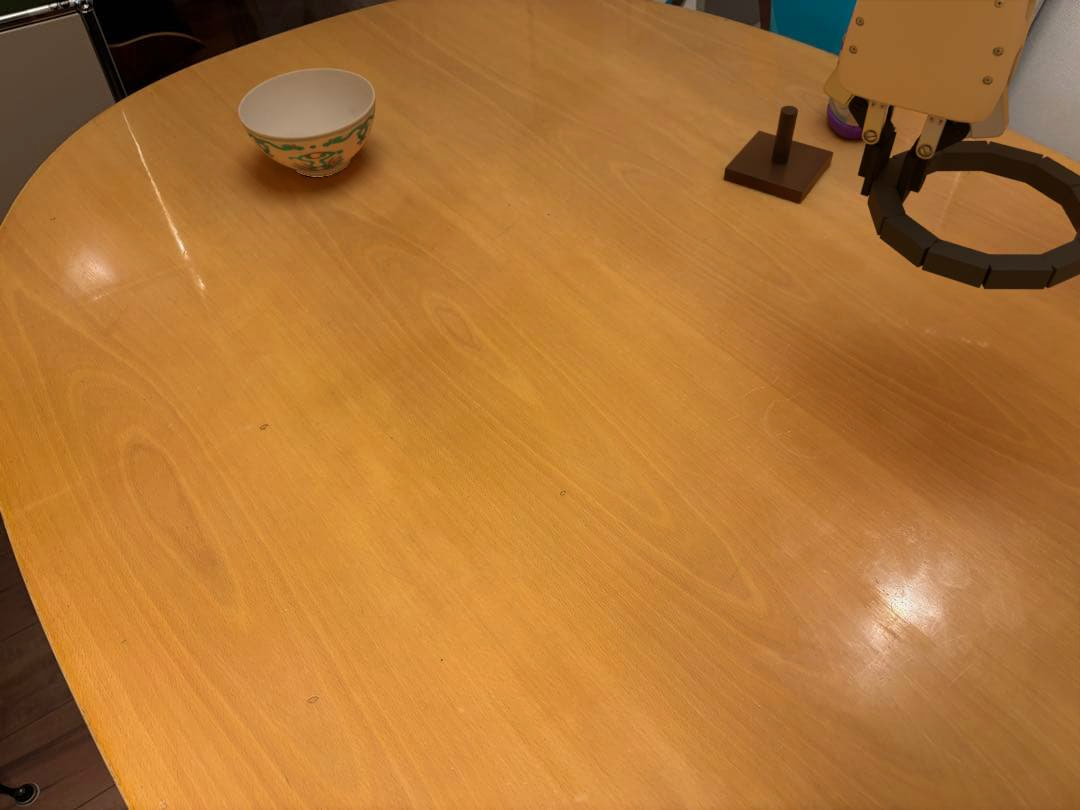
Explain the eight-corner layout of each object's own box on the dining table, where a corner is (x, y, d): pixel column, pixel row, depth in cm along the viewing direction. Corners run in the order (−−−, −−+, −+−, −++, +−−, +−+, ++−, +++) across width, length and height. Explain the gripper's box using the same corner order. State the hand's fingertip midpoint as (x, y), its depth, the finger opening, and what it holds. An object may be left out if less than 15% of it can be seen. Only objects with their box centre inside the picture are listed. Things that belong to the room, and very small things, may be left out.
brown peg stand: (830, 163, 98) (846, 102, 93) (800, 203, 93) (814, 141, 88) (756, 141, 102) (767, 81, 96) (723, 179, 97) (732, 117, 91)
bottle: (817, 113, 106) (850, -38, 93) (863, 109, 106) (902, -42, 93) (837, 145, 101) (875, -9, 88) (885, 140, 101) (930, -13, 88)
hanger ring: (1118, 195, 61) (1129, 176, 60) (1072, 319, 53) (1083, 299, 52) (908, 140, 67) (914, 121, 66) (838, 243, 59) (843, 224, 58)
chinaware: (237, 195, 98) (216, 133, 92) (284, 124, 108) (267, 65, 102) (365, 203, 96) (351, 141, 90) (400, 131, 106) (390, 70, 100)
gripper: (1135, -85, 48) (1014, 196, 62) (857, -127, 54) (803, 137, 68) (1108, -35, 44) (985, 254, 58) (811, -86, 50) (763, 186, 64)
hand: (887, 189), depth 63 cm, fingers closed on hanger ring, 1 cm apart
